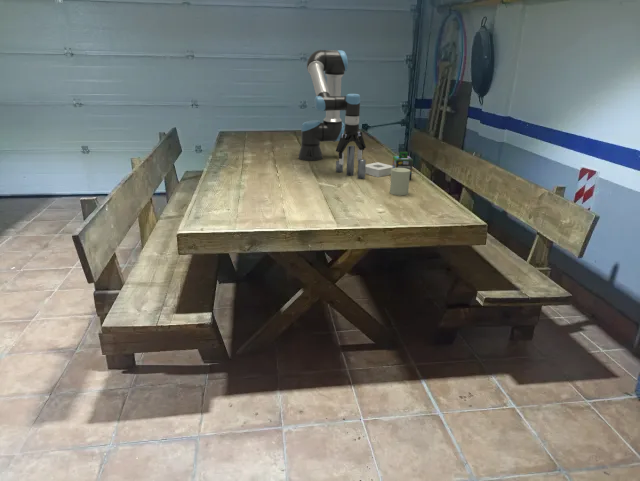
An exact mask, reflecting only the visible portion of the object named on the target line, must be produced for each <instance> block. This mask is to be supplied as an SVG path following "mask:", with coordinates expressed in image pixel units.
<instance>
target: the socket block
mask: <svg viewBox="0 0 640 481" xmlns="http://www.w3.org/2000/svg"><path fill="white" fill-rule="evenodd" d="M392 167H393V165H390V164H386V163H383V162H379V161H377V162H373V163H366V166H365V175H370V176H373V177H376V178H380V177H385V176H391V169H392Z"/></svg>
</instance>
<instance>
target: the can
mask: <svg viewBox="0 0 640 481" xmlns="http://www.w3.org/2000/svg"><path fill="white" fill-rule="evenodd" d="M409 177H410V170H409V169H407V168H393V169H391V175H390V184H389V185H390V187H389V188H390V189H389V193H390V194H391V195H393V196H407V195H409V189H410V188H409V187H410V186H409V185H410V180H409Z"/></svg>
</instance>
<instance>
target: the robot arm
mask: <svg viewBox="0 0 640 481" xmlns="http://www.w3.org/2000/svg"><path fill="white" fill-rule="evenodd" d="M348 60H349V59H348V56H347V53H346V52H345V51H344V50H339V49H319V50H318V49H317V50H316V51H314V52H313V53H311V54H310V56H309V57H308V59H307V61H306V68H307V72H308V74H310V77H311V82H312V85H313V88H314V92H315V97H314V99H313V100H314V101H313V105H314V110H316V111H320V112H323V111H325V117H324V118H323V121H322V122H321V121H320V119H319V120H318V119H313V120H307V121H304V122H302V124H301V130H300V131H301V142H300V143H301V147H300V150H299V152H298V159H300V160H301V161H309V162H310V161H311V162H312V161H320V160H323V154H322V149H321V142H333V143H335V142H338V143H337V145H336V148H335V152H337V153H338V159H339V160H338V161H339V164H341V165H343V166H344V164H345V162H344V160H345V152H344V151H345V149H346V148H347V147H348V145H349V143H351V142H354V143H355V145H356V147H357V148H358V149H357V158H356V159H357V162H358V160H359V159H363V153H364V152H363V151H364V150H365V149H366V148H367V147H366V143H365V140H364V136H363V132H362V131H360V124H359V123H360V114H361V112H360V109H361V95H360V94H358V93H348V94H346V95H341V94H342V93H341V91H342V77H343V76H345V72H347V71H348V68H349V67H348V66H349V61H348ZM341 111H345V114H344V115H345V116H344V117H345V118H344V122H343V121H342V118H341V117H340V116H341V114H340V112H341ZM344 123H345V124H344Z"/></svg>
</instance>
